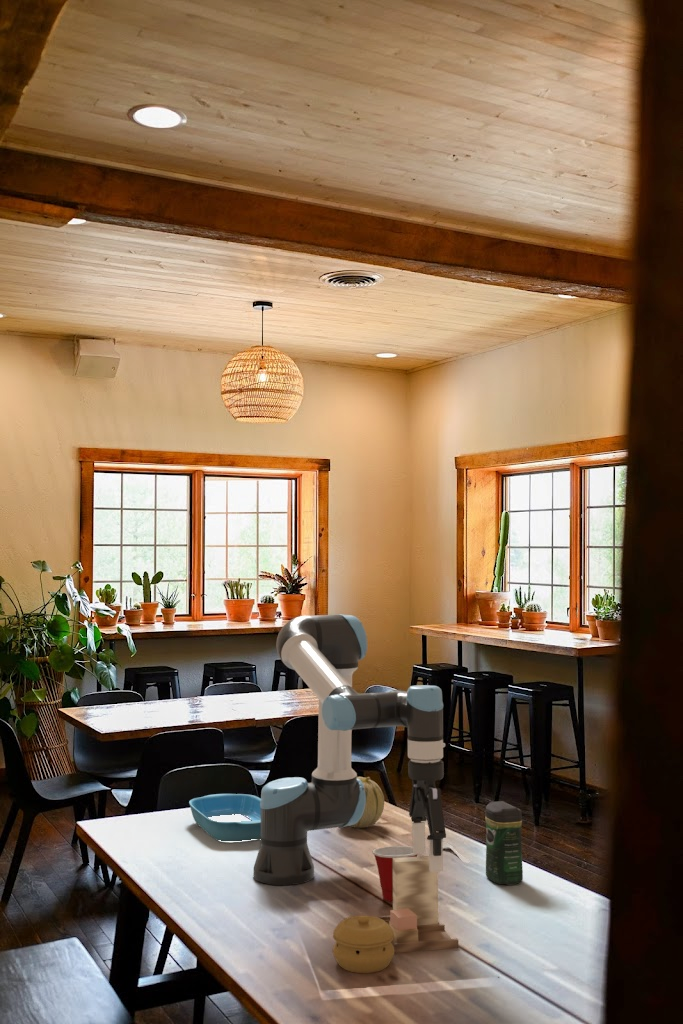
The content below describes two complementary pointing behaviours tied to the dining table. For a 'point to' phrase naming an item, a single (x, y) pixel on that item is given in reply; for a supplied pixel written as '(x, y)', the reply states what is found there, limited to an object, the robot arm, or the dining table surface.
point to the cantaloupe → (371, 804)
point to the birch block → (416, 888)
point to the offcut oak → (404, 935)
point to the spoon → (455, 852)
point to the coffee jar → (503, 843)
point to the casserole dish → (228, 806)
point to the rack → (426, 938)
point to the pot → (363, 944)
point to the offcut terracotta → (403, 919)
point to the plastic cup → (389, 866)
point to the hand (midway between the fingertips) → (427, 862)
